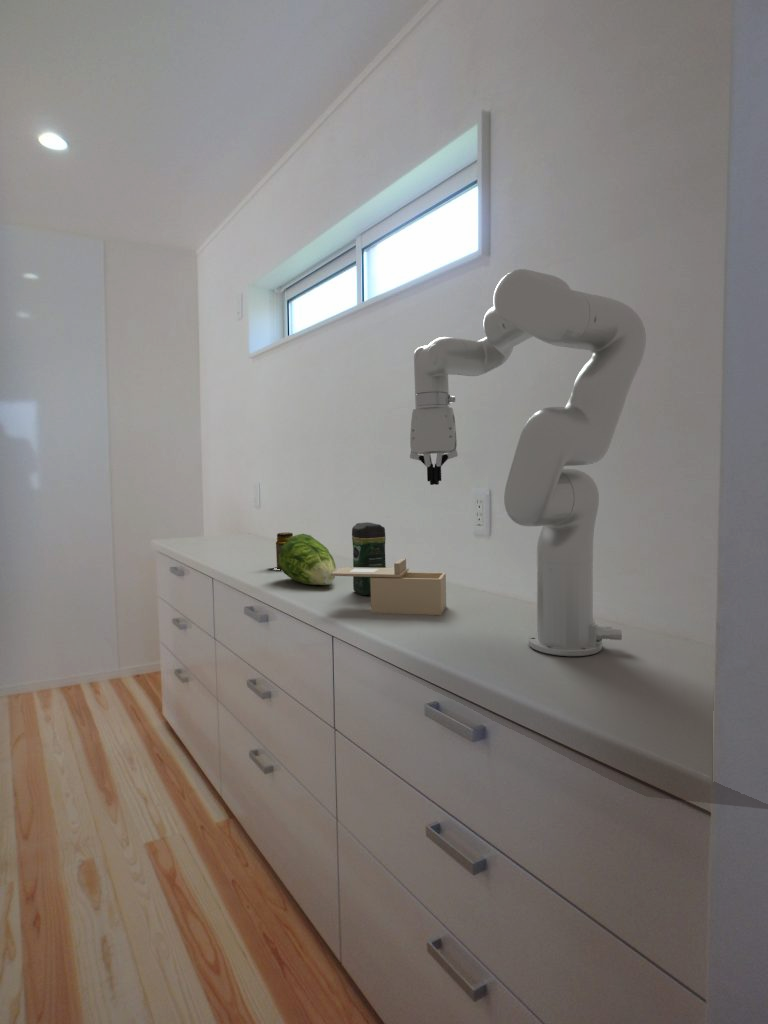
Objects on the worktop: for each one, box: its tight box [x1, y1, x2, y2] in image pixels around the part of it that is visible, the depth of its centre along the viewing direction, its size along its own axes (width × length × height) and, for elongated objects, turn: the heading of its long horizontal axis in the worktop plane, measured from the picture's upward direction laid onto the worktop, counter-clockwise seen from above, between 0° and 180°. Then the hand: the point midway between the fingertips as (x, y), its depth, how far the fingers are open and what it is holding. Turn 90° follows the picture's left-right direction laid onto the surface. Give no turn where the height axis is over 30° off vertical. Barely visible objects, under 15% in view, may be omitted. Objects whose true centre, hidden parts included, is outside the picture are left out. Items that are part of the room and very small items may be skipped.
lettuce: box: [279, 533, 337, 586], centre depth 170 cm, size 14×23×13 cm, turn 31°
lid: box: [331, 557, 410, 577], centre depth 137 cm, size 16×9×3 cm, turn 76°
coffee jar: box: [351, 522, 387, 596], centre depth 155 cm, size 10×8×19 cm
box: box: [370, 571, 447, 616], centre depth 135 cm, size 16×8×8 cm, turn 76°
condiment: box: [267, 532, 294, 572], centre depth 196 cm, size 7×8×12 cm
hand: (434, 484), depth 133 cm, fingers closed
